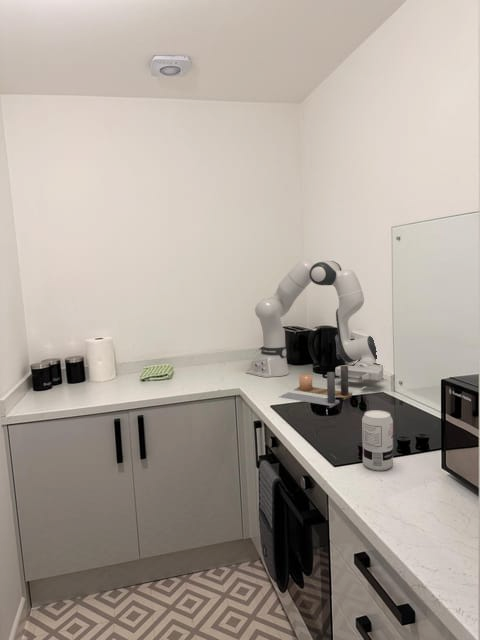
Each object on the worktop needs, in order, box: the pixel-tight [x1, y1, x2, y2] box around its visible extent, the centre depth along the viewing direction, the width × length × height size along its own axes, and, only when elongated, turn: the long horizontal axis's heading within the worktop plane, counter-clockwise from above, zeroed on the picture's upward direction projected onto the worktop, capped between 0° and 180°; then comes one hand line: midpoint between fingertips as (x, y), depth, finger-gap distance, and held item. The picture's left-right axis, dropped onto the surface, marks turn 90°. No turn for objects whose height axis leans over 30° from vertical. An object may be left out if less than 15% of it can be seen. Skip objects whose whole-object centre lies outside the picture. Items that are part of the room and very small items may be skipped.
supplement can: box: [361, 409, 394, 472], centre depth 137 cm, size 8×8×15 cm
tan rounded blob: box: [298, 373, 313, 391], centre depth 214 cm, size 6×6×6 cm
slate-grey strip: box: [278, 371, 340, 409], centre depth 200 cm, size 24×8×13 cm, turn 52°
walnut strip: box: [293, 365, 353, 401], centre depth 209 cm, size 24×8×13 cm, turn 52°
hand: (350, 376), depth 207 cm, fingers open, 8 cm apart
